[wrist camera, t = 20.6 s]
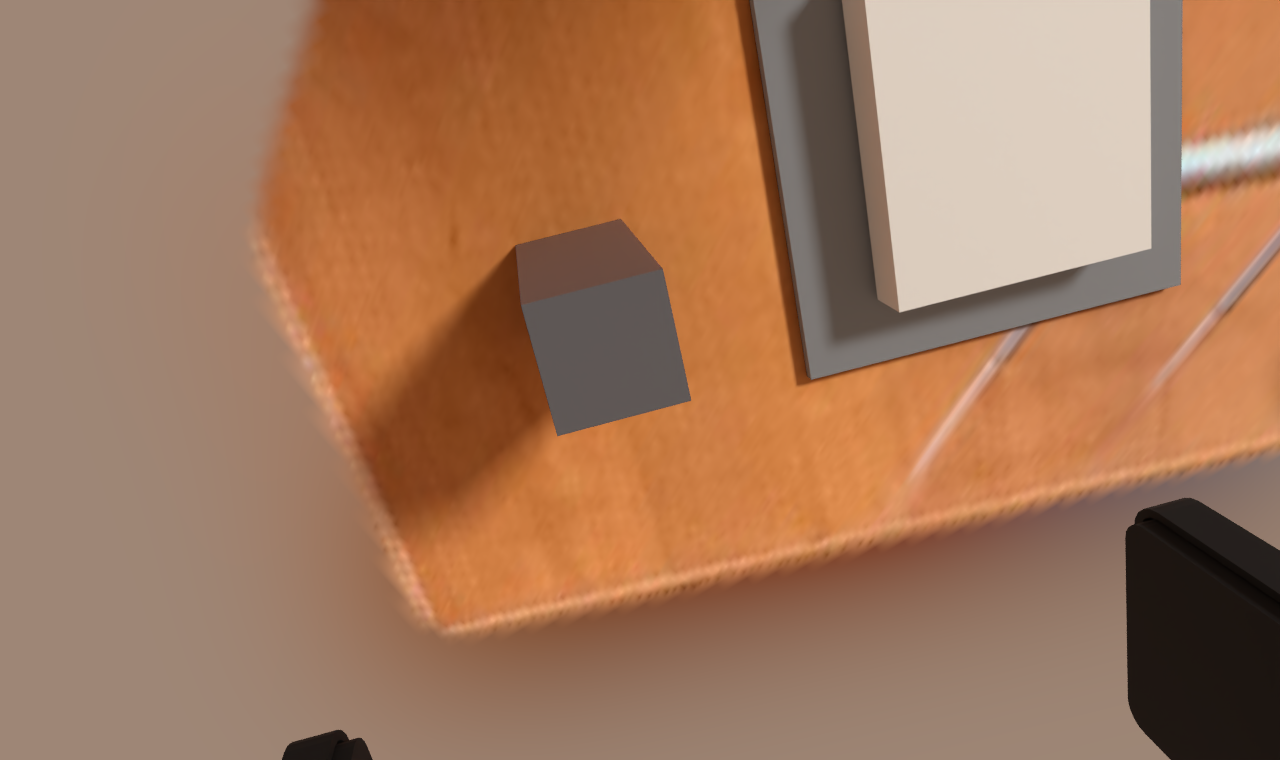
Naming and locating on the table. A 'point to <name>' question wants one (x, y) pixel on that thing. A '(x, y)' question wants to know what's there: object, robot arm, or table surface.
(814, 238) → the mat
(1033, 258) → the tile
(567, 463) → the table surface
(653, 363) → the block
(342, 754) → the robot arm
